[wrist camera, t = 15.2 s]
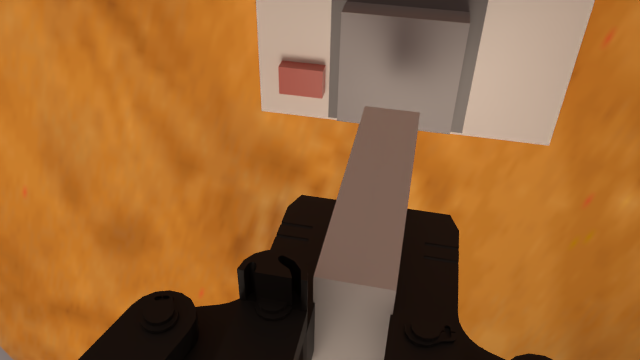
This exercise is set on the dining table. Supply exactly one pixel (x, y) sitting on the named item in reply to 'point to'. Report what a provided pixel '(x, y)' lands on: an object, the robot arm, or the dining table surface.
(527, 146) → the dining table surface
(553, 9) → the socket
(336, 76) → the plug
